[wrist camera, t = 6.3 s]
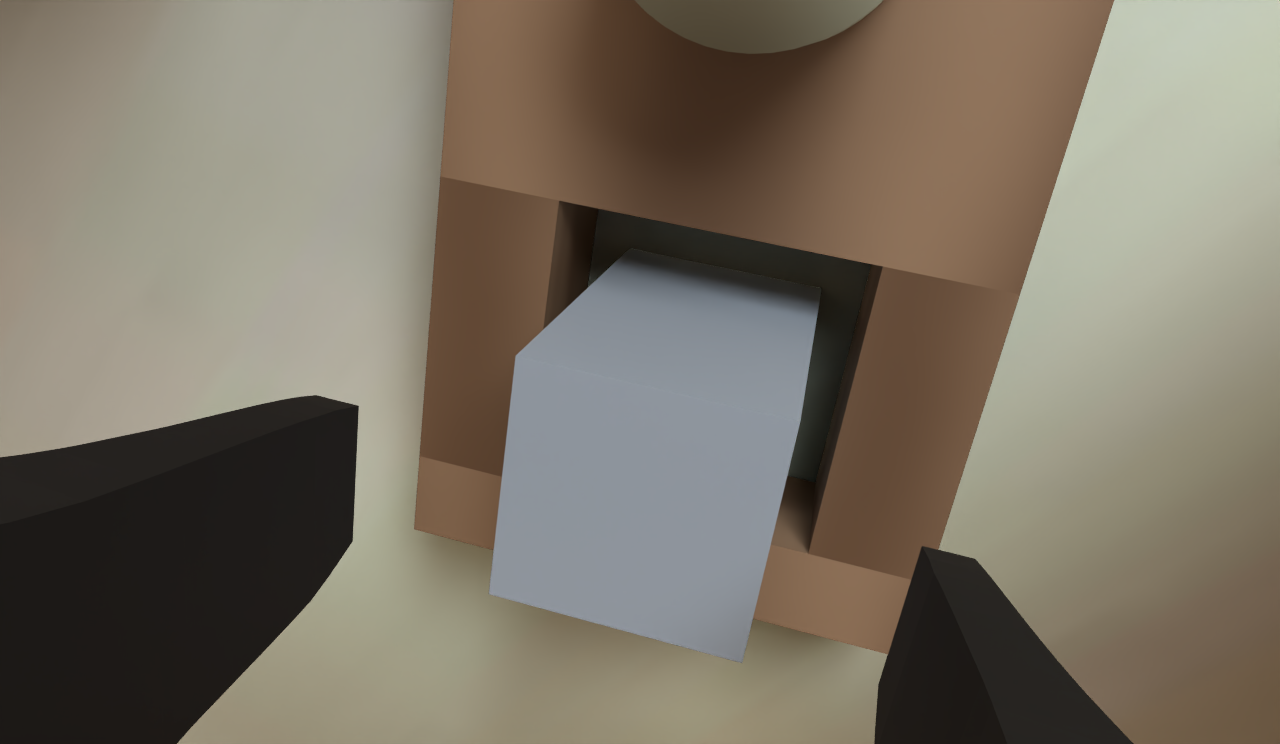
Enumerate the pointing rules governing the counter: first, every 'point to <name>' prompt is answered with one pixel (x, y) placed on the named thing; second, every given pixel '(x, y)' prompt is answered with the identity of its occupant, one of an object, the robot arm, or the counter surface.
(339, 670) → the counter surface
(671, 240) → the counter surface
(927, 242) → the base
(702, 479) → the peg
